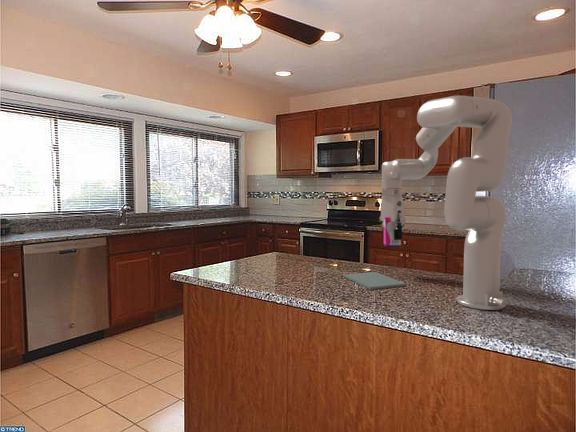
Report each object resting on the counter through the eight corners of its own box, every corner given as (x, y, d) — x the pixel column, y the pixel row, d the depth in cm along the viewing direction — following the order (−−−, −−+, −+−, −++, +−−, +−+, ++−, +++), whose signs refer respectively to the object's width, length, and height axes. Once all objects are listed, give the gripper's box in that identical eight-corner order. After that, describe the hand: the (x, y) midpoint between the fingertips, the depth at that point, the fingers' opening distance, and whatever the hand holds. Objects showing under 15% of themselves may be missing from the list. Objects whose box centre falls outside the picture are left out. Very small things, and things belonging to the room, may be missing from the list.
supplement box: (398, 244, 153) (398, 216, 152) (401, 246, 147) (400, 216, 146) (383, 244, 153) (383, 216, 153) (385, 246, 147) (385, 217, 147)
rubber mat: (405, 285, 134) (405, 283, 134) (370, 289, 129) (370, 287, 129) (375, 273, 153) (375, 271, 153) (343, 276, 148) (343, 274, 148)
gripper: (413, 193, 142) (413, 240, 143) (387, 193, 158) (387, 236, 159) (396, 193, 139) (396, 241, 140) (371, 193, 156) (371, 237, 157)
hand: (391, 238), depth 150 cm, fingers closed on supplement box, 7 cm apart
